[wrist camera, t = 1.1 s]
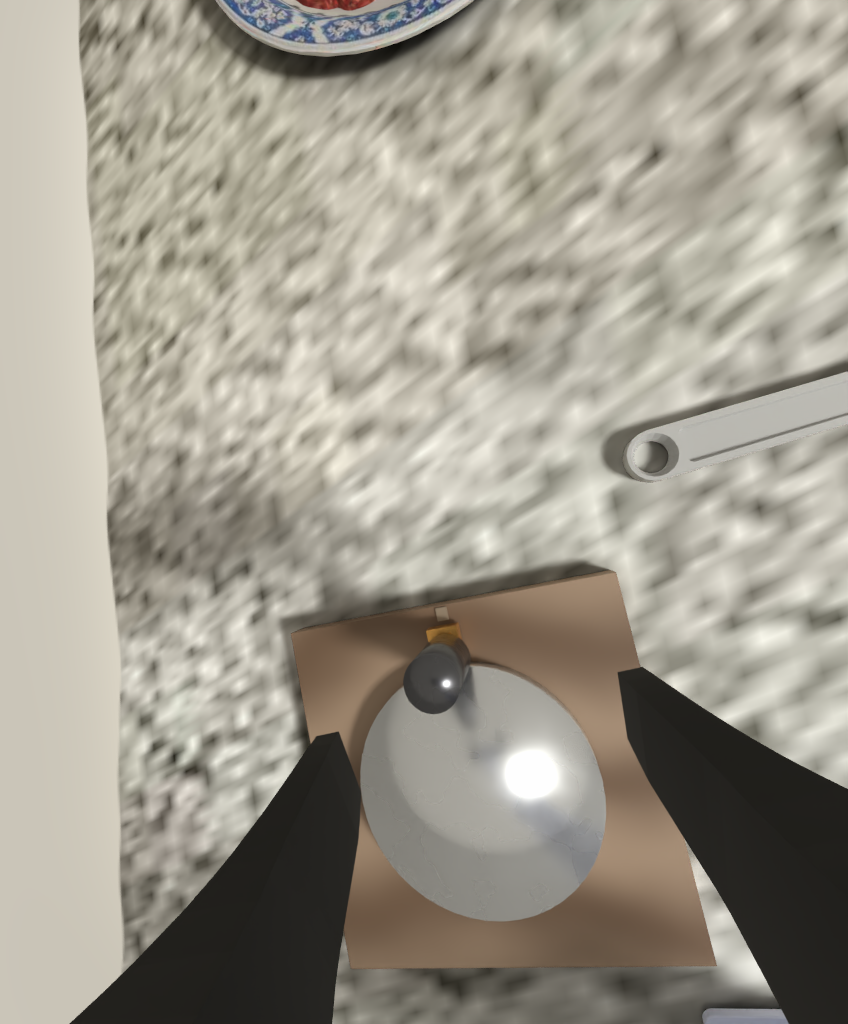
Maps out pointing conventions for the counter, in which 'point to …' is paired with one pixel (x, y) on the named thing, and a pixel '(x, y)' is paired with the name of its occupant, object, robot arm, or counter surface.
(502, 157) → the counter surface
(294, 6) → the ceramic plate
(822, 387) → the adjustable wrench
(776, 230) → the counter surface
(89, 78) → the counter surface
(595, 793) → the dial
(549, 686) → the dial board
